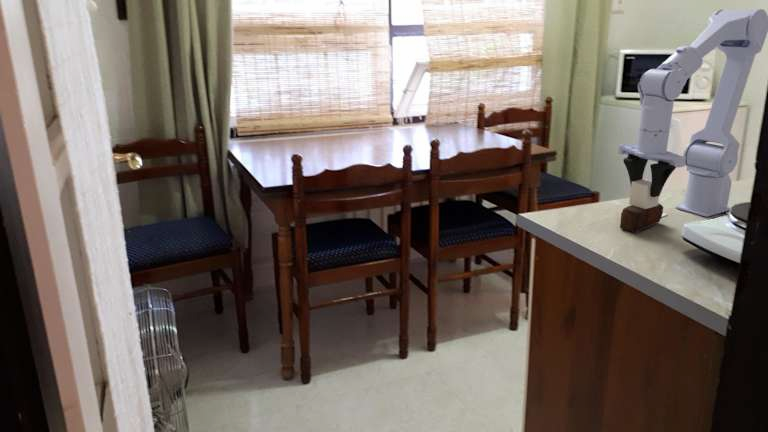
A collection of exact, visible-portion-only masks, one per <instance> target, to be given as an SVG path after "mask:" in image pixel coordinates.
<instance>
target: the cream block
mask: <svg viewBox="0 0 768 432" xmlns="http://www.w3.org/2000/svg"><path fill="white" fill-rule="evenodd" d="M651 184H652V180H650V179H646V178H642V180H637V181H633V182H632V184H630V194H629V202H628V205H629V206H631V205H633V206H637V207H640V208H643V209H648V208H651V207H655V206H658V203H659V199H660V196H657V197H651V193H650V192H651Z"/></svg>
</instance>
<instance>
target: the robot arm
mask: <svg viewBox="0 0 768 432" xmlns="http://www.w3.org/2000/svg"><path fill="white" fill-rule="evenodd" d="M767 35H768V13H767V11H766V10H765V9H762V8H758V9H731V10H730V9H729V10H728V9H718V10H716V11H714V13H713V14H712V15H711V16H709V17H708V21H707V24H706V28H705V29H704V30H703V31H702V32H701V33H700V34H699V35H698V36H697V38H696V39H695V40H694V41H693V42H692V43H691V44H690V45H683V46H679V47H677V48H676V49H675V52H673V53H672V54H671V55H670V56H669V57H668V58H667V59H666V60H665V61H663V62H662V63H661V64H660V65H659V66H658V67H656V68H650V69H649V70H647V71H645V72H644V73H643V74H642V76H641V77H640V80H639V82H638V84H637V91H638V94H639V104H640V106H641V109H640V110H641V112H640V121H639V127H638V135H637V142H636V145H635V144H633V145H632V144H628V143H622V144H619V146H618V150H617V151H618V152H617V153H618V155H627V157H626V158H623V164H624V166H625V168H626V170H627V174H628V178H629V183H630V185H631V184H632V182H633V181H637V180H642V179H644V178H643V177H644V173H645V170H646V166H647V163H648V161H652V162H653V161H654V162H656V163H651V164H650V172H651V181H652V184H651V192H650V193H651V197H657V196H659V197H660V196H661V194H662V191H663V189H664V186H665V184H666V183H667V180H668V179H669V178H670V176H671V175H672V173H673V172H674V171H675V170H676V168H682V167H686V171H688V172H689V173H688V178H687V183H686V191H685V196H684V202H683V203H681V204H676V205H674V207H675V208H676V209H678V210H682V211H685V212H688V213H692V214H695V215H699V216H703V217H705V218H706V217H707V218H708V217H710V216H711V217H712V216H715V215H719V214H722V213H724V212H723V211H726V212H729V211H730V210H729V209H731V210H732V208H731V207H728V204H729V199H730V194H731V190H732V179H731V177H730V175H729V174H731V173H732V172H733V171H734V169H735V168H736V166H737V164H738V158H739V156H738V155H739V149H740V146H741V145H740V142H739V141H738V140H737V138H736V137H735V136H734V135H733V134H732V132H731V131H732V128H733V125H734V122H735V119H736V116H737V113H738V109H739V106H740V104H741V100H742V97H743V94H744V91H745V88H746V85H747V82H748V79H749V75H750V73H751V70H752V67H753V63H754V61H755V57H756V55H757V54H759V53H761V52H762V49H763V46H764V44H765V41H766V37H767ZM716 48H718V50H719V51H720V52H723V53H724V55H725V57H726V59H725V62H724V66H723V69H722V71H721V72H722V73H721V75H720V78H719V82H718V84H717V88H716V91H715V94H714V97H713V101H712V104H711V107H710V110H709V114H708V116H707V120H706V123H705V125H704V128H702V129H700V130H698V131H696V132H695V133H693V134H691V137H690V140H689V142H688V144H687V145H686V147H684V150H683V153H682V155H679V154H677V153H673V152H671V151H668V150H667V149H668V142H669V138H670V137H669V136H670V128H671V124H672V116H673V109H674V105H675V104H674V102H675V99H677V98H679V97H680V96H681V94H682V91H683V89H684V87H685V85H686V83H687V80H688V79H689V78H690V77H692V76H693V75H694V74H695V73H696V72H697V71H698V70H699V69H700V68H701V67H702V66H703V60H704V59H703V58H704V57H706V56H707V55H708V54H710V53H711V52H713V50H715V49H716ZM713 143H714V144H713ZM715 143H716V144H715ZM717 144H721V145H717ZM728 210H729V211H728ZM721 212H722V213H721Z"/></svg>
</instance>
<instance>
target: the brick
mask: <svg viewBox="0 0 768 432" xmlns="http://www.w3.org/2000/svg"><path fill="white" fill-rule="evenodd" d="M663 213H664V206H663V205H662V204H660V203H659V202H658V206H655V207H651V208H648V209H643V208H640V207H637V206H633V205H628V206H626V207H623V208H622V211H621V213H620V224H619V228H620V229H622V230H625V231H627V232H631V233H638V232H639V231H642V230H645V229H647V228H649V227H652V226H653V225H655V224H657V223H659V222H661V216H662V214H663Z"/></svg>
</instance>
